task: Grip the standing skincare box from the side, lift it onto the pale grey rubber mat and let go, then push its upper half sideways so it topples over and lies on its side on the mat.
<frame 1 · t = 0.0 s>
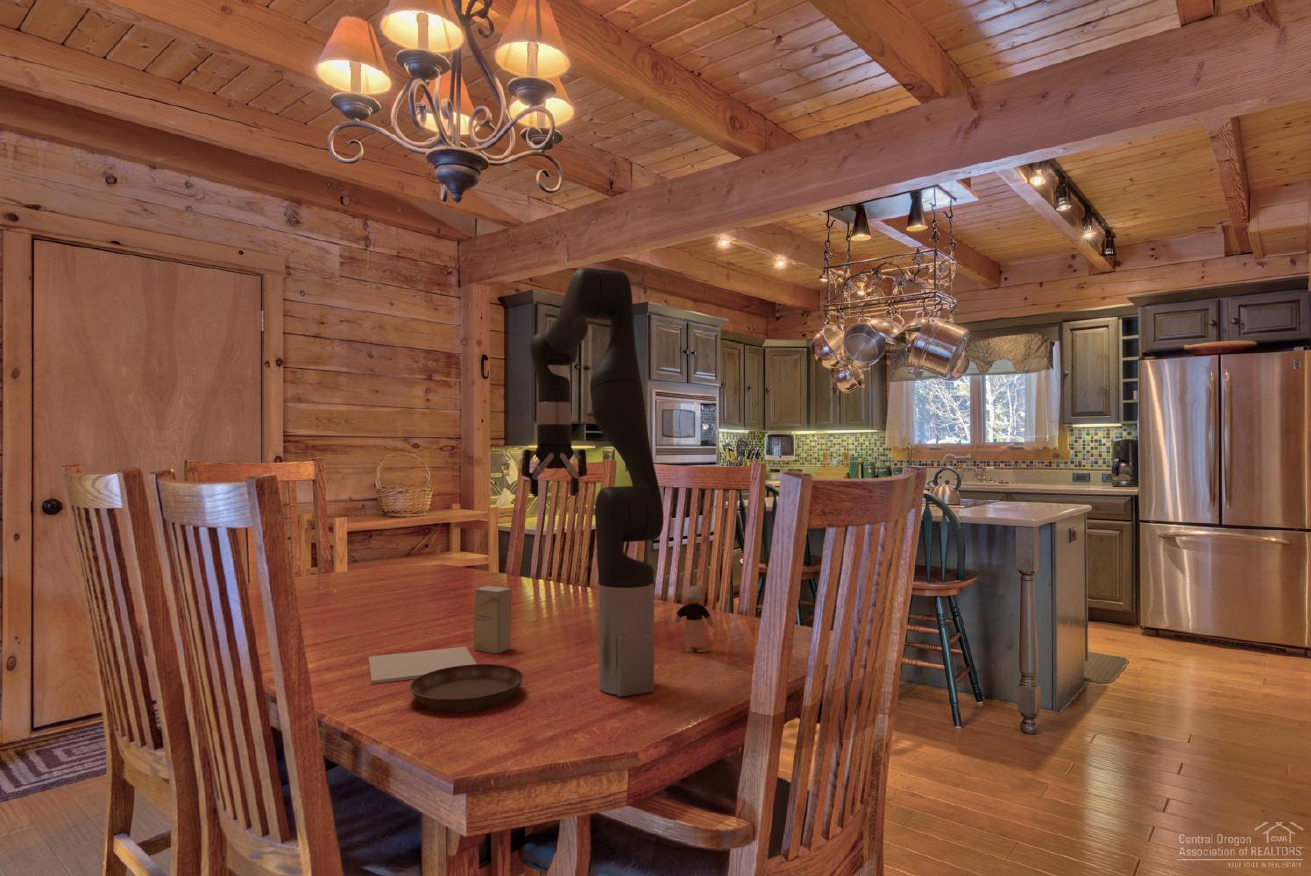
hand: (554, 496, 166), 29 cm above the table, tool pointing down, fingers open, 8 cm apart
mat: (422, 665, 138), on the table
grandmother figurine: (693, 651, 147), on the table
skincare box: (492, 650, 148), on the table
plant saucer: (467, 699, 120), on the table
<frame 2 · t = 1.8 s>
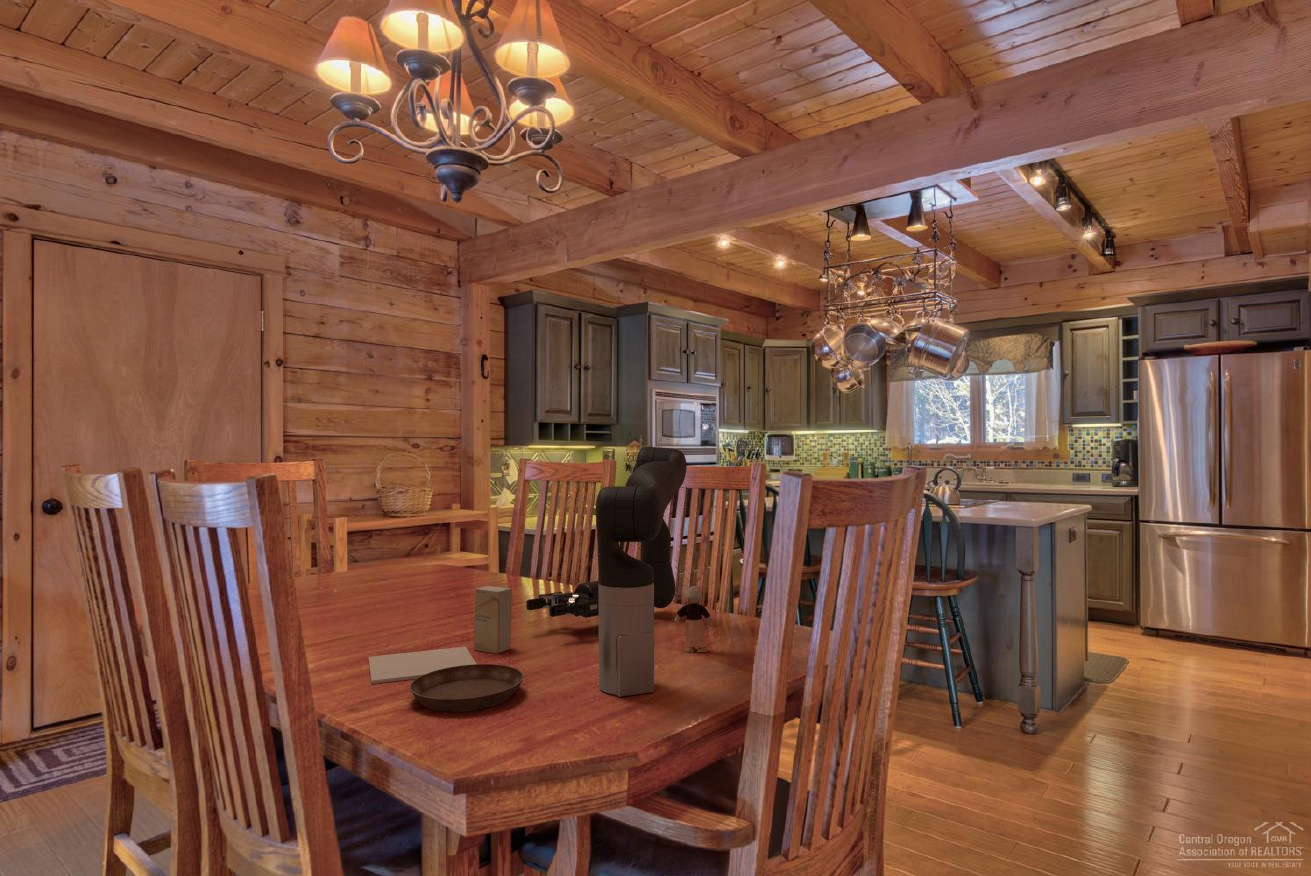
hand: (538, 608, 156), 7 cm above the table, tool horizontal, fingers open, 8 cm apart
nothing on the table moved.
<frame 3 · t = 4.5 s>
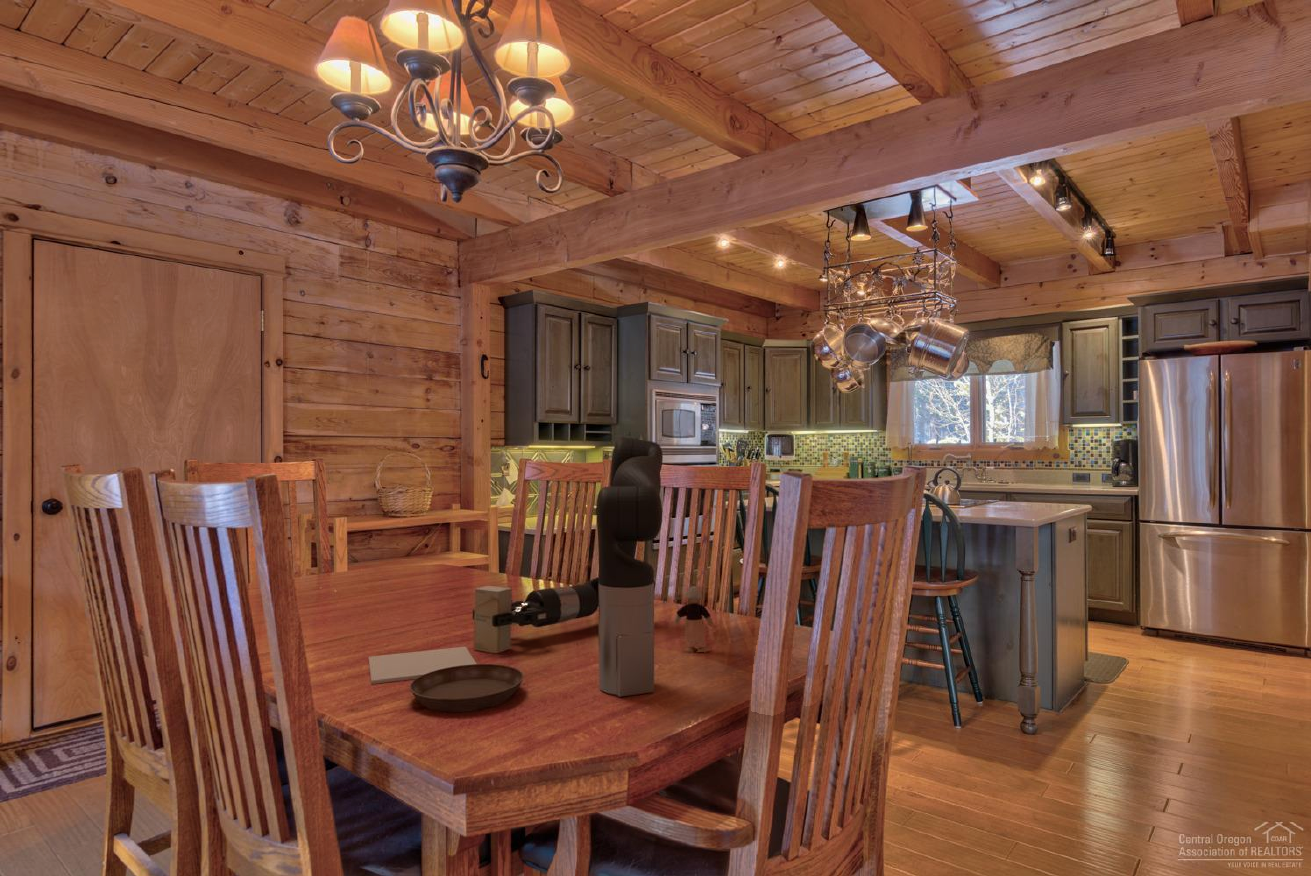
hand: (483, 618, 147), 7 cm above the table, tool horizontal, fingers closed on skincare box, 7 cm apart
skincare box: (492, 650, 148), on the table, touching gripper
everything else where it was.
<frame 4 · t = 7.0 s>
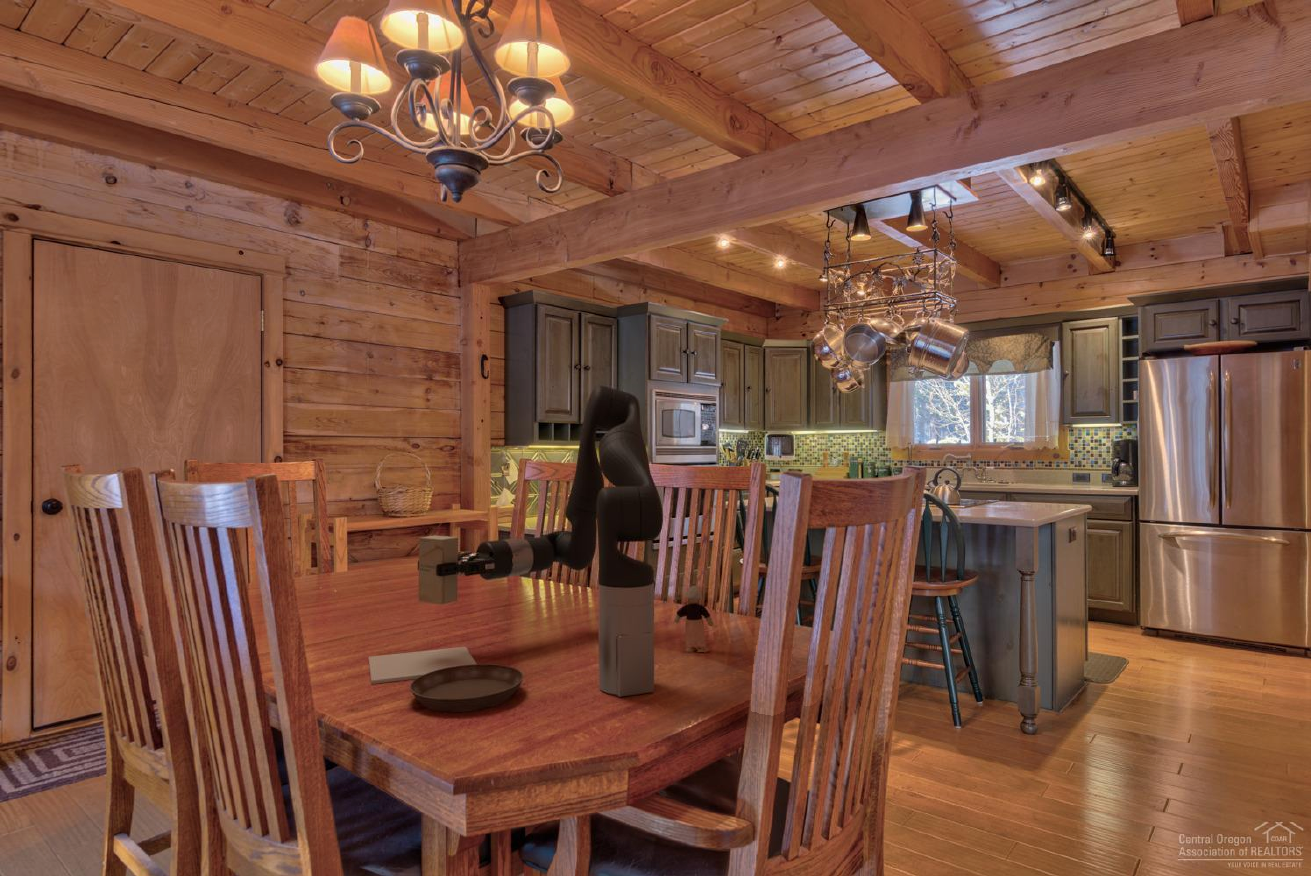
hand: (427, 568, 140), 18 cm above the table, tool horizontal, fingers closed on skincare box, 7 cm apart
skincare box: (438, 602, 141), point 11 cm above the table, touching gripper
everything else where it was.
when the fingers open (8 cm above the table, at t = 9.4 s): skincare box stays where it is, resting on mat.
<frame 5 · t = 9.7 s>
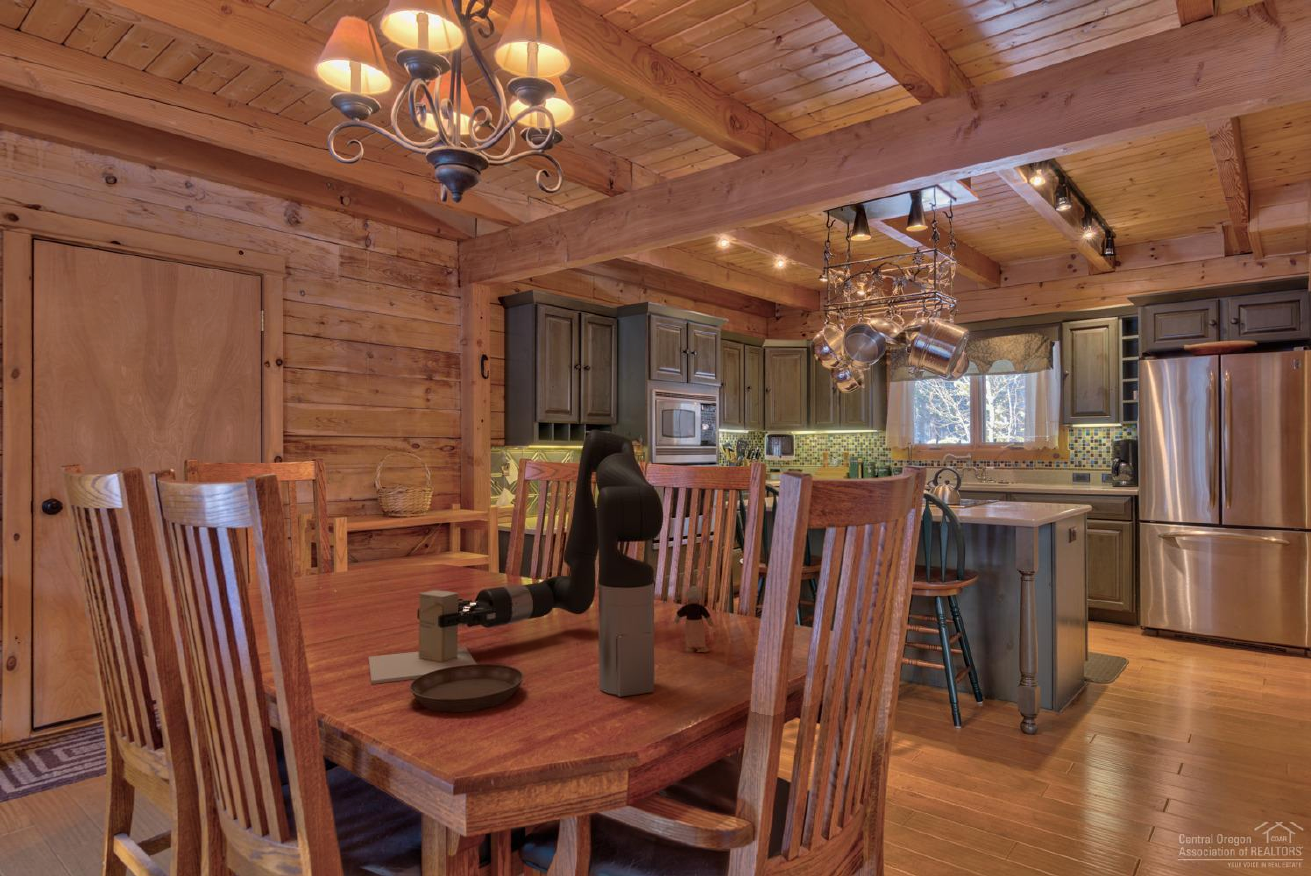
hand: (428, 618, 139), 8 cm above the table, tool horizontal, fingers open, 8 cm apart
skincare box: (438, 658, 141), resting on mat
everything else where it was.
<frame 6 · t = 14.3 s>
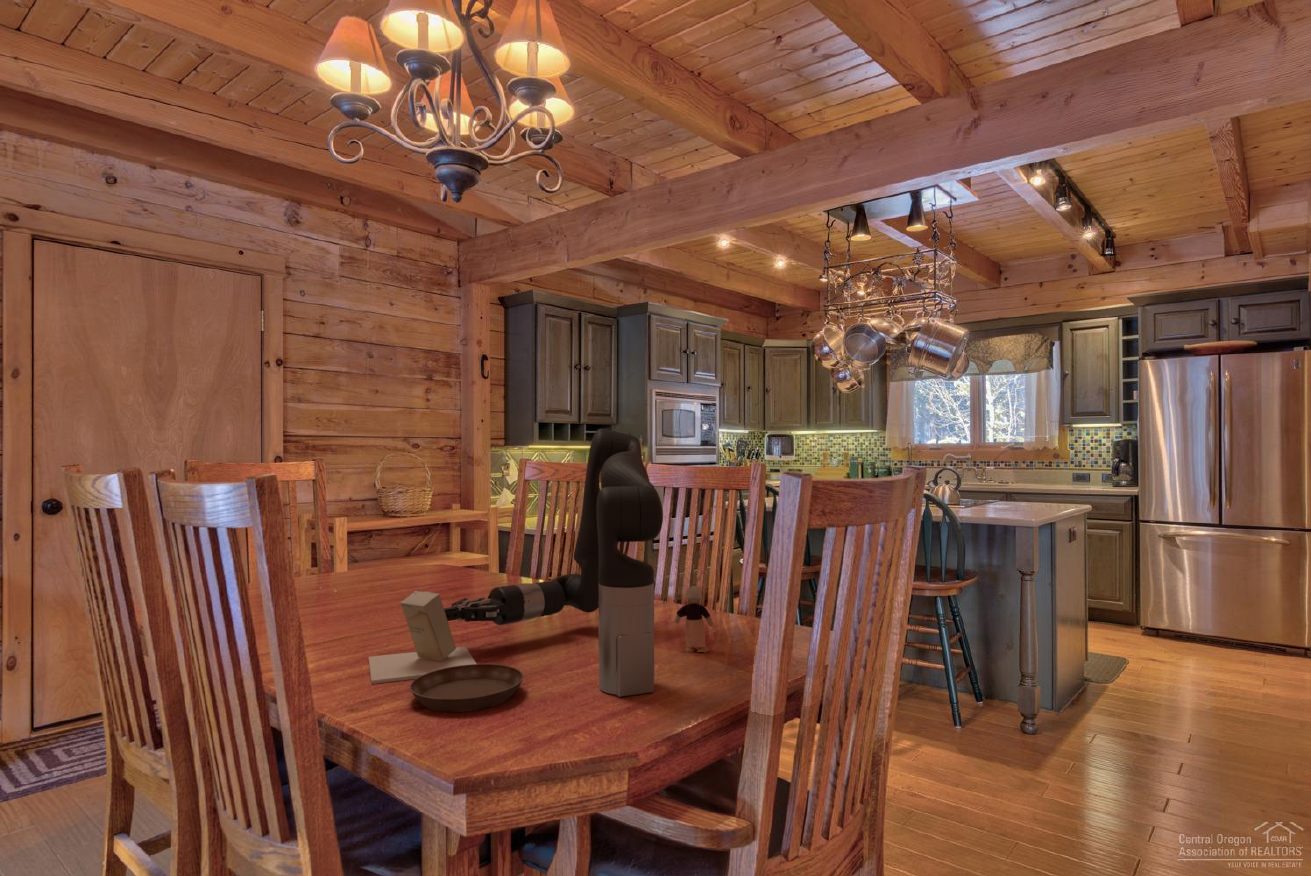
hand: (437, 616, 141), 8 cm above the table, tool horizontal, fingers closed
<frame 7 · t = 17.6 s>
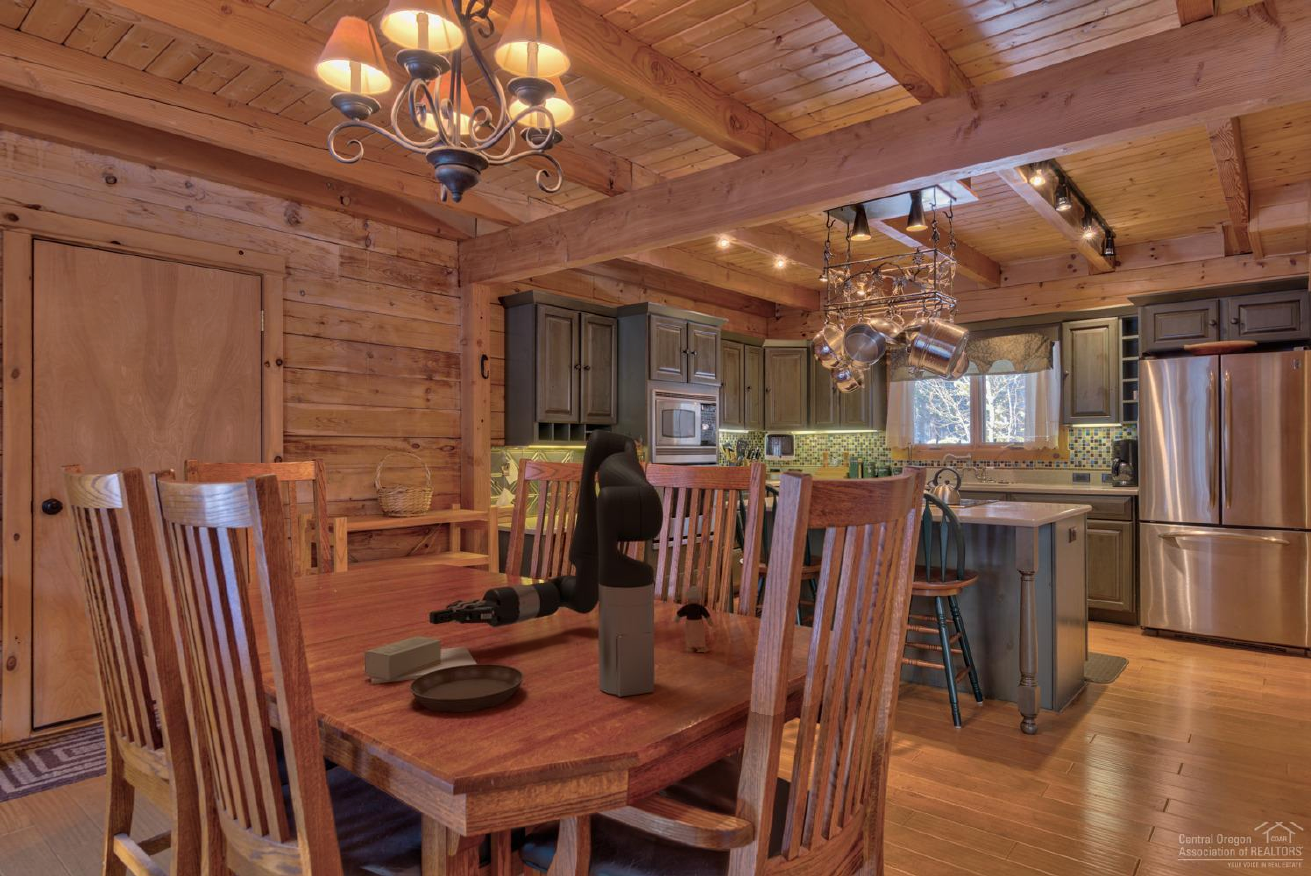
hand: (431, 618, 140), 8 cm above the table, tool horizontal, fingers closed
skincare box: (430, 648, 139), point 3 cm above the table, touching mat
everything else where it was.
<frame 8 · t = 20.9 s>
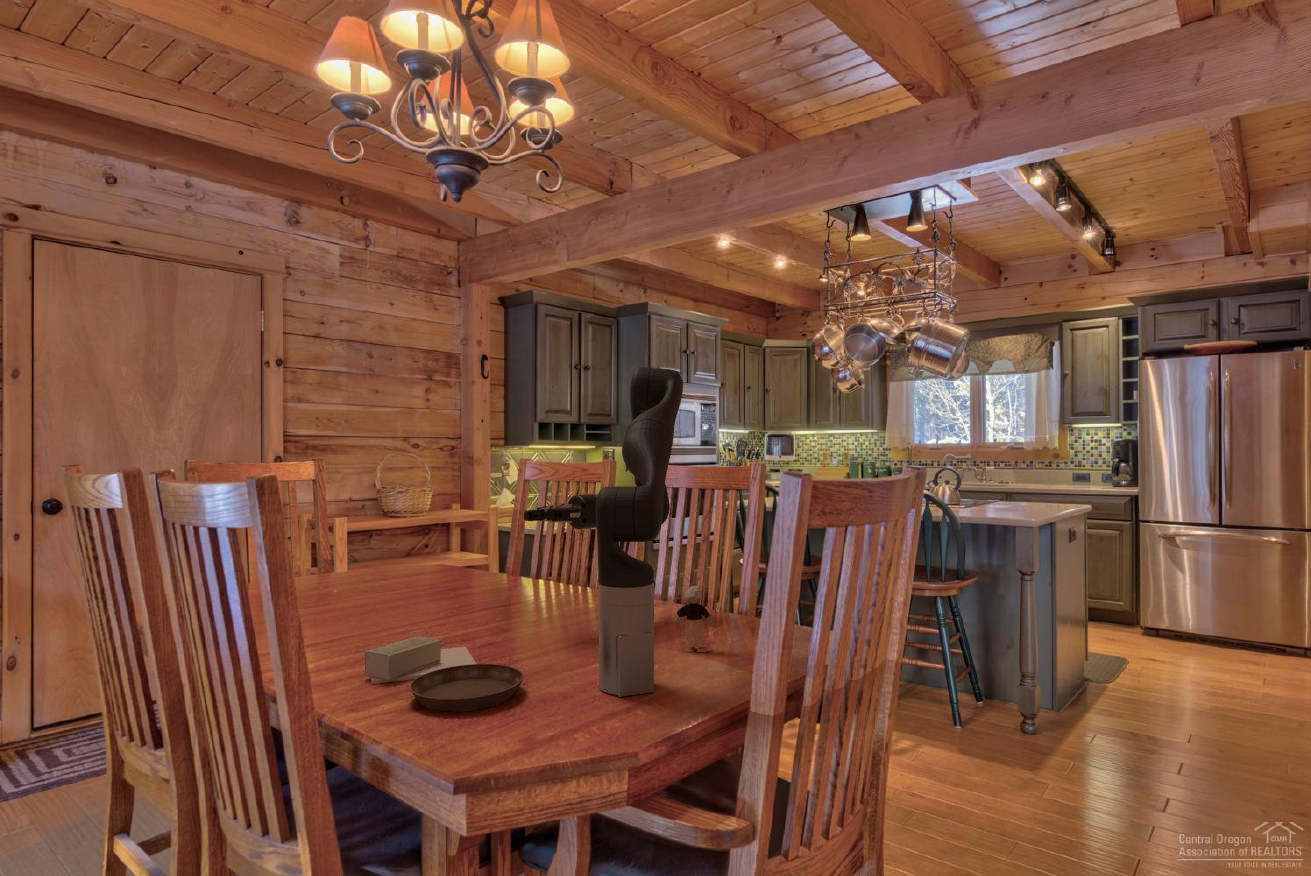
hand: (526, 515, 154), 26 cm above the table, tool horizontal, fingers closed
nothing on the table moved.
at the end: skincare box tilted 91°; skincare box inside the target area (1.5 cm from its centre), point 2.8 cm above the table; the gripper is holding nothing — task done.
